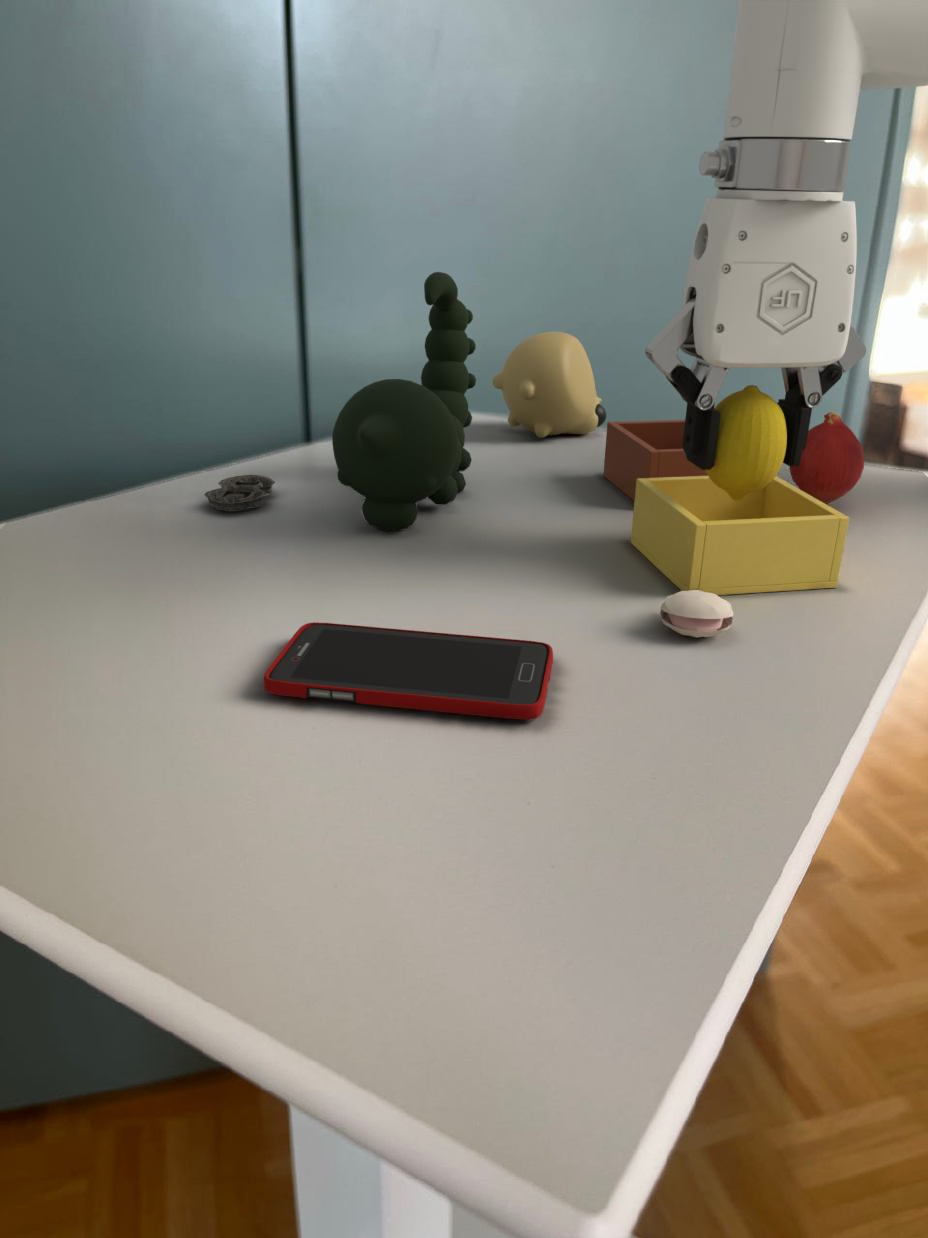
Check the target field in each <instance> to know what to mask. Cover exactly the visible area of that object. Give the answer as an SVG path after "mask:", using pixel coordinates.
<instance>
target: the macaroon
mask: <svg viewBox="0 0 928 1238" xmlns="http://www.w3.org/2000/svg"><path fill="white" fill-rule="evenodd" d="M659 614H660V617H661V619H662V623H663V625H665V626H666V627H668V628H670V629H671V630H673V631H674V632H676V633H677V634H680V635H682V636H689V637H693V638H696V639H697V638H702V637H704V638H711V637H714V636H716V635H718V634H719V635H720V634H721V633H723V632H726V631H727V630H729V629H730V627H731V626H732V624H733V620H734V618H733V617H734V611H733V608H732V605H731V603H730V602H729V601H728V600H726V599H723V598H722V597H721V596H720V595H716V594H713V593H708V592H703V591H699V590H692V591H681V590H680V591H678V592H676V593H674V594H670V595H667V596H666V597H665V599H664V600H663V602H662V603H661V605H660V612H659Z"/></svg>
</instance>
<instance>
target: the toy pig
mask: <svg viewBox="0 0 928 1238" xmlns="http://www.w3.org/2000/svg"><path fill="white" fill-rule="evenodd" d="M492 386H493V387H494V388H495V389H498V390H501V393H502V397H503V400H504V402H505V404H506V407H507V409H508V410H509V414H508V417H507V422H508V424H509V426H510V427H518V426H522V427H523V428H525V429H526V430H527V431H528V432H531V433H534V434H535V435H536V437H538V438H541V439H542V438H546V437H547V436H556V435H560V434H568V435H585V434H589V433H591V432H593V431H594V430H596V429H597V428H599V427H601V426H603V424H605V421H606V420H607V412H606V409H605V407H604V406H603V405H601V403H602V401H603V400H602V398H601V397H599V396H598V395H597V391H596V383H595V378H594V373H593V369H592V365H591V362H590V359H589V357H588V355H587V352H586V350H585V348H584V346H583V344H582V342H581V341H580V340H579V339H578V338H577V337H575V336H574V335H573V334H570V333H567V332H564V331H563V332H562V331H546V332H541V333H536V334H534V335H532V336H529V337H527V338H525V339H524V340H522V341H521V342H520V343H518V344H517V345H516V346H515V347H514V348H513V349H512V351H511V352H510V353H509V355H508V356H507V358H506V360H505V362H504V364H503V368H502V371H500V372H499V373H496V374H495V376H494V377H493V378H492Z"/></svg>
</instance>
